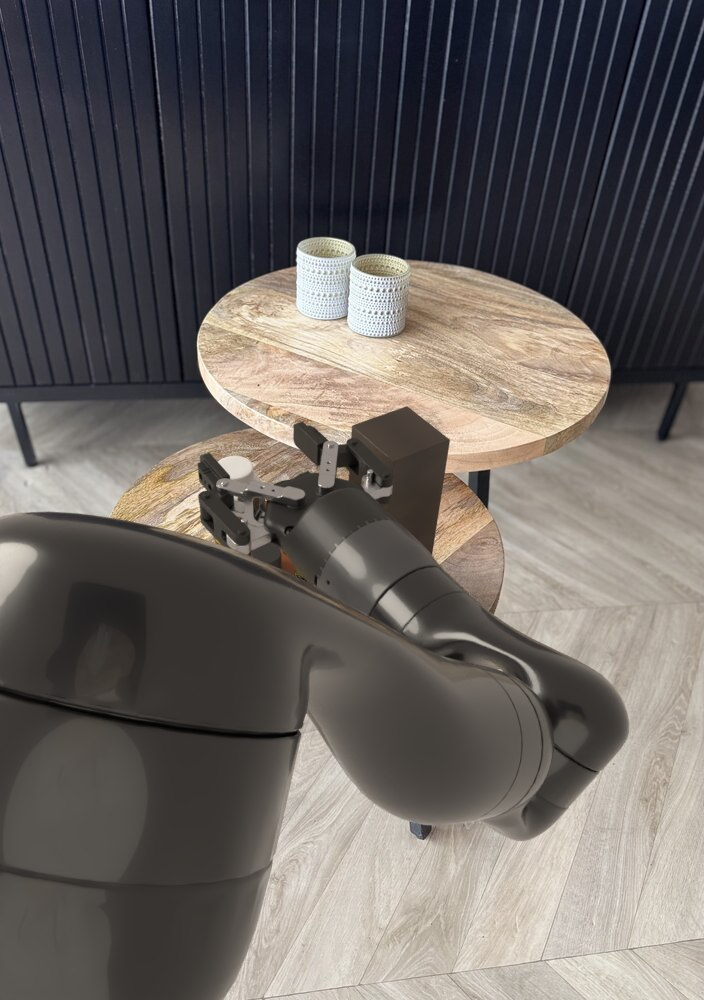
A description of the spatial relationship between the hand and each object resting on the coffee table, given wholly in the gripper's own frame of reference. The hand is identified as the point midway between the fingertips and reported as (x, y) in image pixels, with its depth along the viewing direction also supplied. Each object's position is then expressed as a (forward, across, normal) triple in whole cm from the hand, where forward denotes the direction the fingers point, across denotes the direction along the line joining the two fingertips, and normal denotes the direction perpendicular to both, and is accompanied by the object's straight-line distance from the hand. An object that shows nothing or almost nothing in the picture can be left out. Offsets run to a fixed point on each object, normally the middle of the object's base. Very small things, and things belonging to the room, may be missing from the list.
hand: (251, 446), depth 65 cm
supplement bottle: (+12, -5, +22) cm, 26 cm away
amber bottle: (-2, 0, +22) cm, 22 cm away
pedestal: (-4, -12, +22) cm, 26 cm away
